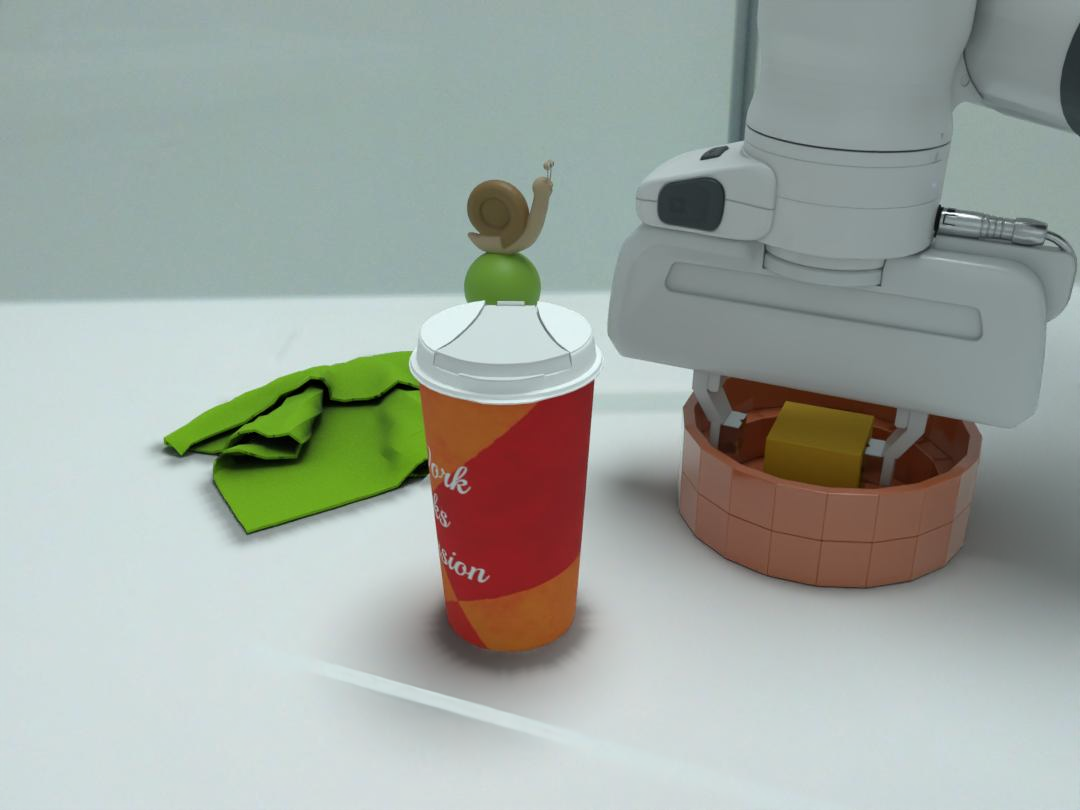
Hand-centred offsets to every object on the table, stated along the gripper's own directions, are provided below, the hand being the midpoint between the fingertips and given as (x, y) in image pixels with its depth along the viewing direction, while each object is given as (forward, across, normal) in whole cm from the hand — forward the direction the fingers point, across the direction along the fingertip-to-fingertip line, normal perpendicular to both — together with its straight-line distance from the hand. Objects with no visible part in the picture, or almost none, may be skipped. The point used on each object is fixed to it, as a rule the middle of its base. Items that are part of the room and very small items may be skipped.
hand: (799, 464), depth 58 cm
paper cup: (+4, +10, +14) cm, 17 cm away
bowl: (+3, -1, 0) cm, 3 cm away
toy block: (+2, -1, 0) cm, 2 cm away
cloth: (+4, +26, +1) cm, 26 cm away
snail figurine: (+3, +24, -18) cm, 30 cm away
